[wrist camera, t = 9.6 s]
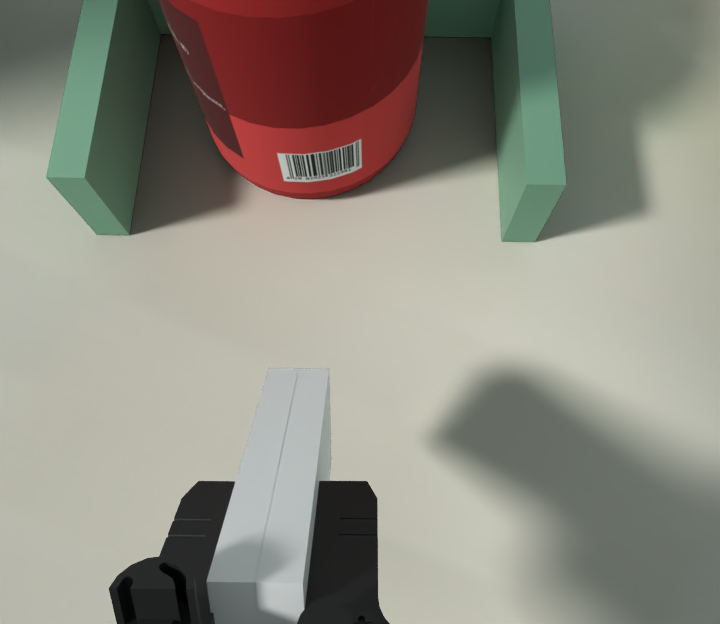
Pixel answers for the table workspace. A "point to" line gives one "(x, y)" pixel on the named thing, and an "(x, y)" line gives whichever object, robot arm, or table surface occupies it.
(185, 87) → the table surface
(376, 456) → the table surface
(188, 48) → the canned food
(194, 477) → the table surface
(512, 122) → the green c-shaped bracket
